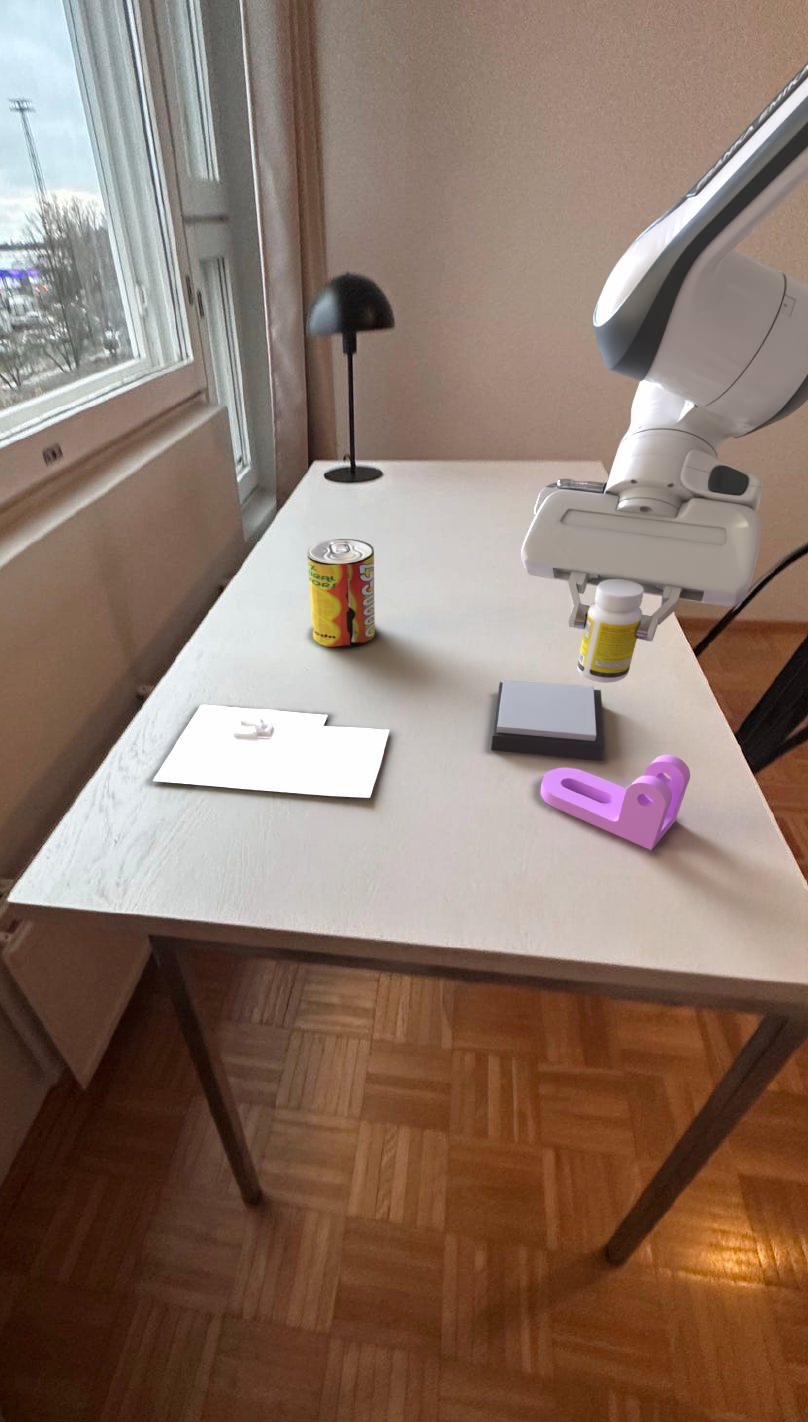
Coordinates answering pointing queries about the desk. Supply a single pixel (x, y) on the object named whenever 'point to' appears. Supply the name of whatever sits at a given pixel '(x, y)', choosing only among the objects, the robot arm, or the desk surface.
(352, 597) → the beverage can
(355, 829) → the desk surface
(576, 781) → the bracket
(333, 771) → the paper
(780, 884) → the desk surface
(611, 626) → the supplement bottle
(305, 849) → the desk surface
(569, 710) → the scale
